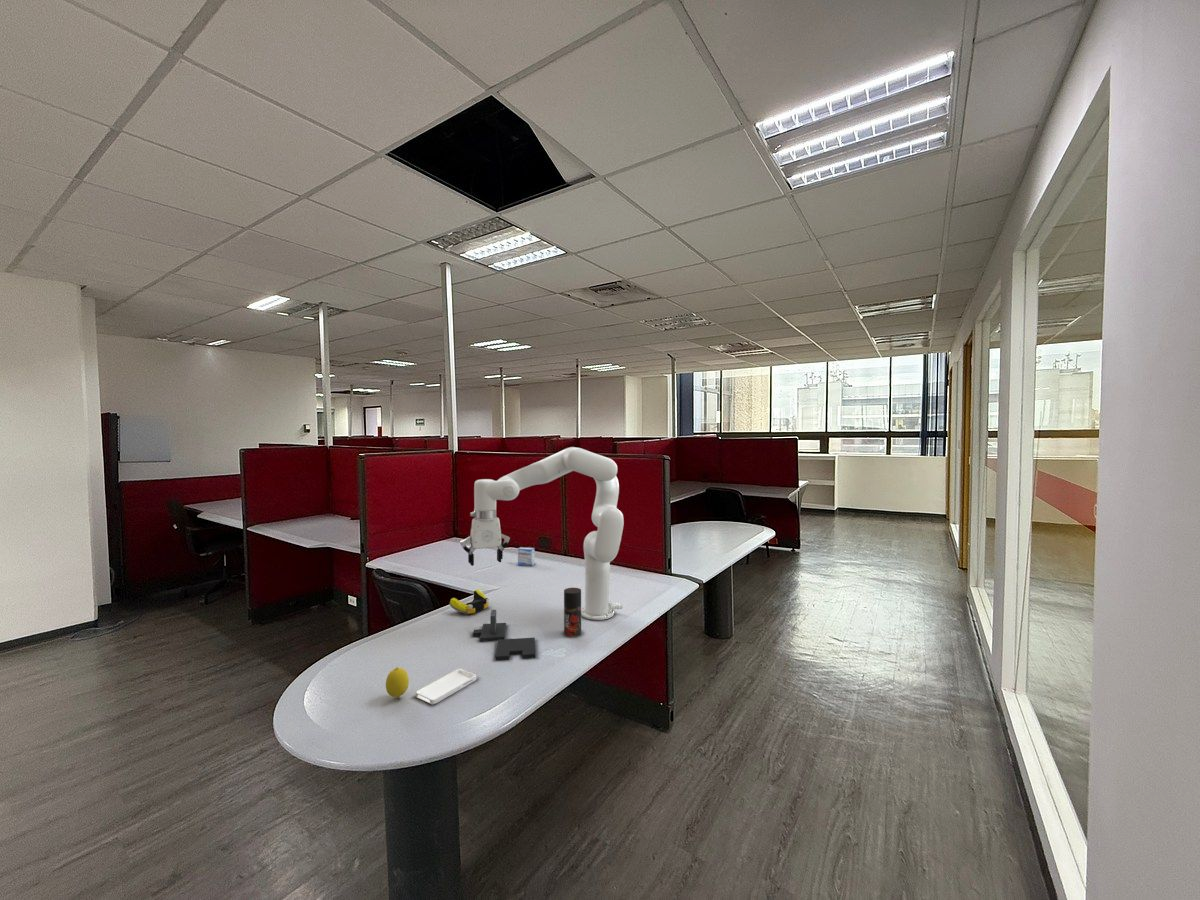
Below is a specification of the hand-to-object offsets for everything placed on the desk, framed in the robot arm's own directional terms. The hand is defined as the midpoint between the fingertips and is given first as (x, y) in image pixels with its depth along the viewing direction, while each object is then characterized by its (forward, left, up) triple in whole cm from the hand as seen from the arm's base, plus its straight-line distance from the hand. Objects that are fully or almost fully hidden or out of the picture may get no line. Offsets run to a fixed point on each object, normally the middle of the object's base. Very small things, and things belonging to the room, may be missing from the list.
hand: (485, 563), depth 168 cm
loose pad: (-1, +5, -23) cm, 24 cm away
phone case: (+7, +39, -24) cm, 46 cm away
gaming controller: (+7, -19, -24) cm, 31 cm away
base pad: (-11, +19, -23) cm, 32 cm away
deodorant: (-30, +9, -24) cm, 39 cm away
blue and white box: (-14, -80, -24) cm, 85 cm away
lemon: (+19, +42, -24) cm, 52 cm away
